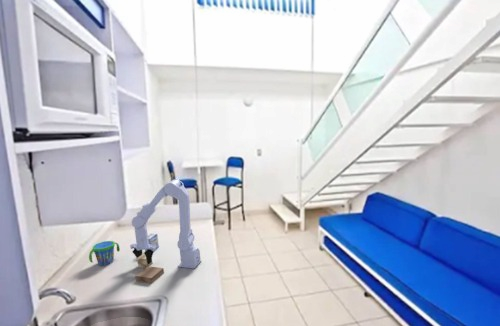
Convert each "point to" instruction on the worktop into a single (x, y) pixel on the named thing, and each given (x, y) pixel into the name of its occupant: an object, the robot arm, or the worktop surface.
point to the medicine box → (153, 240)
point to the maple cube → (143, 261)
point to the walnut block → (149, 274)
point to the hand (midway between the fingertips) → (145, 262)
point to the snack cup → (104, 252)
